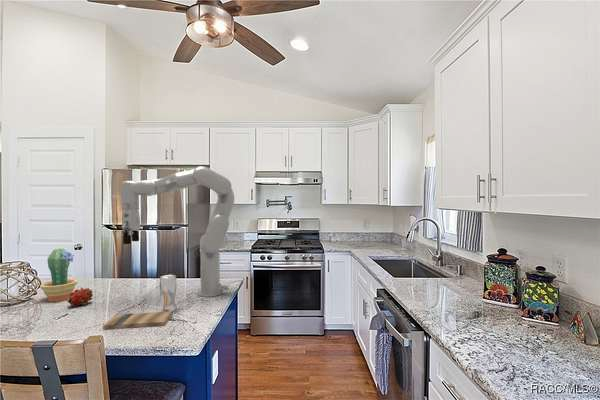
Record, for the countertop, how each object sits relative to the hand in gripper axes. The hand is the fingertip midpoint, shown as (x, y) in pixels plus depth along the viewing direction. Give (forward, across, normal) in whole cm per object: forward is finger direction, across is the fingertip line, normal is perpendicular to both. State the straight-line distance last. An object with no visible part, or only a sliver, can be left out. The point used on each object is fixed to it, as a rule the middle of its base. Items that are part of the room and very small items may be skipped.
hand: (131, 242), depth 156 cm
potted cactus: (+28, +11, +39) cm, 50 cm away
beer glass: (+29, -15, -20) cm, 39 cm away
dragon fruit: (+28, -2, +23) cm, 37 cm away
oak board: (+28, -27, -13) cm, 42 cm away
